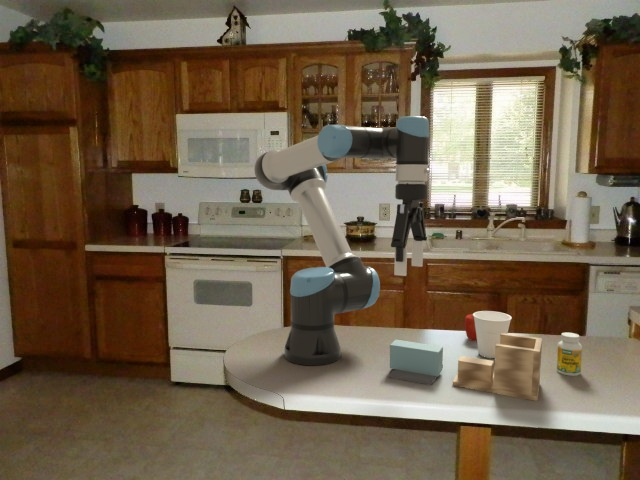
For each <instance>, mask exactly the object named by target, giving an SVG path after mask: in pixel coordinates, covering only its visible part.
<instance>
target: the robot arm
mask: <svg viewBox="0 0 640 480" xmlns="http://www.w3.org/2000/svg"><path fill="white" fill-rule="evenodd" d="M429 145H430V123H429V118H427V117H425V116H423V115H422V116H418V115H410V116H409V115H408V116H401V117H398V119H397V121H396V127H387V128H386V127H385V128H380V127H379V128H377V127H365V126H356V125H355V126H354V125H344V124H339V123H338V124H326V125H324V126H323V127H322V129H321V130H320V131H319V133H318V135H316V136H314V137H311V138H308V139H306V140H303V141H300V142H298V143H296V144H293V145H290V146H288V147H286V148H284V149H281V150H279V149H271V150H269V151H266V152H264V153H262V154H260V156H259V157H258V158H257V159H256V161H255V164H254V169H253V170H254V175H255V178H256V179H257V181H258V183H259V184H260V185H262V187H265V188H266V189H268V190H272V191H287V192H288V193H289V195H290V198H291V200H292V201H293V202H297V203H298V204H299V207H300V209H301V211H302V213H303V216H304V218H305V220H306V223H307V225H308V227H309V230H310V233H311V234H312V237H313V240H314V241H315V244H316V246H317V249H318V251H319V254H320V256H321V258H322V261H323V263H324V265H325V266H316V267H308V268H303V269H300V270H297V271H296V272H295V273H294V274H292V276H291V278H290V289H289V294H290V330H289V332H288V336H287V339H286V342H285V345H284V358H285V359H286V360H287V361H288V362H291V363H293V364H298V365H303V366H321V365H328V364H331V363H334V362H336V361H338V360H340V358H341V345H340V342H339V339H338V335H337V332H336V330H335V315H337V314H342V313H348V312H354V311H362V310H364V309H367V308H370V307H372V306H373V305H374V304H376V302H377V300H378V298H379V297H380V291H381V282H380V281H381V280H380V278H379V274H378V272H377V271H376V270H375V269H374V268H373V267H371V266H369V265H368V266H367V265H366V266H365V265H364V263H363V260H362V258H361V257H360V256H358V255H355V254H353V252H352V250H351V248H350V245H349V243H348V241H347V238H346V235H345V234H344V232H343V230H342V227H341V225H340V223H339V221H338V219H337V217H336V215H335V213H334V211H333V208H332V206H331V204H330V202H329V199H328V197H327V194H326V193H325V189H326V186H327V181H328V174H327V173H328V168H327V164H330V163H334V162H337V161H340V160H345V159H369V160H377V161H379V160H390V159H395V161H396V162H395V181H396V182H397V184H396V185H395V193H394V198H395V199H396V200H400V201H401V200H402V203H401V204H400V203H398V204H396V205H397V206H396V216H395V221H394V227H393V233H392V238H391V243H390V247H391V248H394V268H393V269H394V276H401V277H406V276H407V271H408V269H407V266H408V263H407V262H408V247H406V246H407V243H408V240H409V239H408V238H409V236H410V231H411V234H412V238H413V240H411V241H412V242H411V265H410V266H411V267H421V268H422V267H423V266H424V265H423V262H424V242H426V241H427V240H428V236H427V232H426V231H427V230H426V221H425V212H424V205H425V203H424V202H423V201H425V200H427V199H428V185H427V184H426V182H428V177H429V176H428V174H429V173H430V172H431V170H430V168H429V147H430V146H429Z"/></svg>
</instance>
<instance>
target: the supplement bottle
mask: <svg viewBox="0 0 640 480" xmlns="http://www.w3.org/2000/svg"><path fill="white" fill-rule="evenodd" d="M580 337H581V336H580V335H579V334H578V333H574V332H562V333H561V336H560V339H561V340H560V341H558V343H557V353H556V354H557V356H556V357H557V358H556V371H557V372H558V373H559V374H561V375H565V376H569V377H575V376H580V374H581V373H582V357H583V346H582V344H581V343H580Z"/></svg>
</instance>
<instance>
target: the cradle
mask: <svg viewBox="0 0 640 480" xmlns="http://www.w3.org/2000/svg"><path fill="white" fill-rule="evenodd" d="M542 345H543V338H541V337H535V336H527V335H518V334H512V333H507V334H505V333H501V334H500V344H496V345H495V359H494V360H491V359H486V358H485V359H483V358H477V357H471V356H470V357H469V356H463V355H461V356H460V357H459V359H458V361H457V365H458V366H457V373H456V375H455V376H454V379H453V380H452V387H453V386H454V387H458V386H459V387H460V388H463V387H465V388H464V389H469V388H470V390H474V389H475V391H480V390H481V391H480V392H485V391H486V393H491V392H492V393H491V394H496V393H497V394H498V395H502V396H507V397H513V398H519V399H526V400H530V401H535V402H537V401H538V397H539V390H540V384H541V383H540V382H541V381H540V380H541V363H542V349H543V346H542ZM459 387H458V388H459Z"/></svg>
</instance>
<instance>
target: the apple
mask: <svg viewBox="0 0 640 480" xmlns="http://www.w3.org/2000/svg"><path fill="white" fill-rule="evenodd" d="M473 314H474V313H470V314H467V315H466V316H465V317H464V327H465V335H466V337H467V339H468V340H469V341H473V340H474V341H473V342H477V336H476V329H475V321H474V316H473Z"/></svg>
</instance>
